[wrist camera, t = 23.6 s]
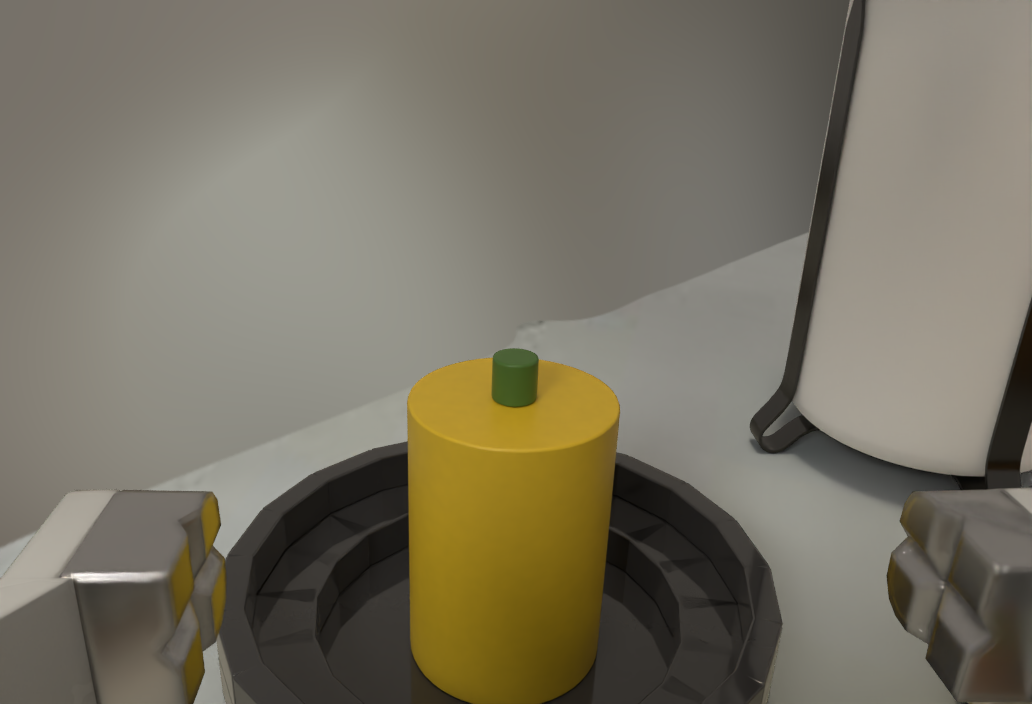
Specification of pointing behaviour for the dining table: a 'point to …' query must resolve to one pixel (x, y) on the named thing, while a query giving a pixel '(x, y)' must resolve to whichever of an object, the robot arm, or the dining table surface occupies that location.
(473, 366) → the pepper
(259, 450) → the dining table surface
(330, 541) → the bowl
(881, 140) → the coffee press
